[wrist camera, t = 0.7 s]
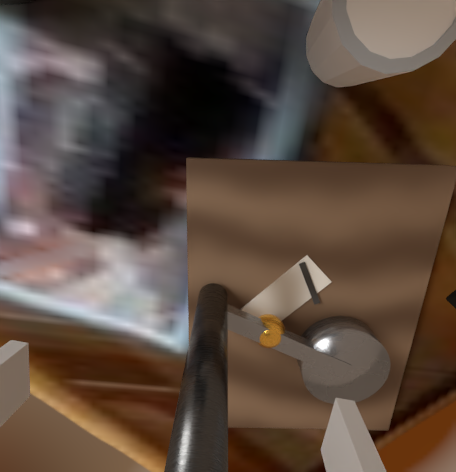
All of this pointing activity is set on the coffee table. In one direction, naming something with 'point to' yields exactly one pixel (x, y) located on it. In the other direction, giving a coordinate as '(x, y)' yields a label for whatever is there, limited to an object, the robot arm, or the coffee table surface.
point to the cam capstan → (269, 336)
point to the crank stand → (313, 266)
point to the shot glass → (377, 38)
